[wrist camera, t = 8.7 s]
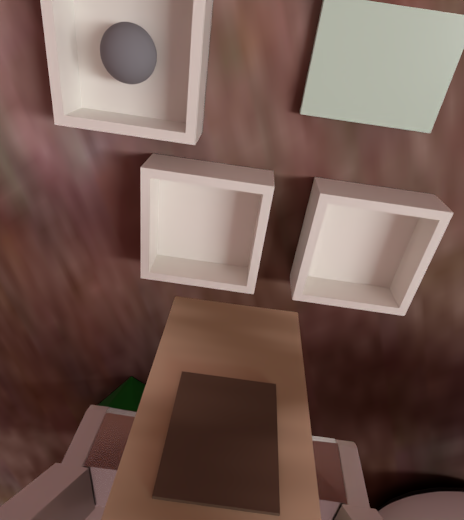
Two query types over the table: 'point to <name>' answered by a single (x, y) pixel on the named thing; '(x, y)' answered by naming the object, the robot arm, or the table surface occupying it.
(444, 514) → the milk container
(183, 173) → the white square cubby
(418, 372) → the table surface
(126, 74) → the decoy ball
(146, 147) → the table surface
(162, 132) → the white square open box
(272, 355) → the tan tall block
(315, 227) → the white open square tray
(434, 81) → the pad
